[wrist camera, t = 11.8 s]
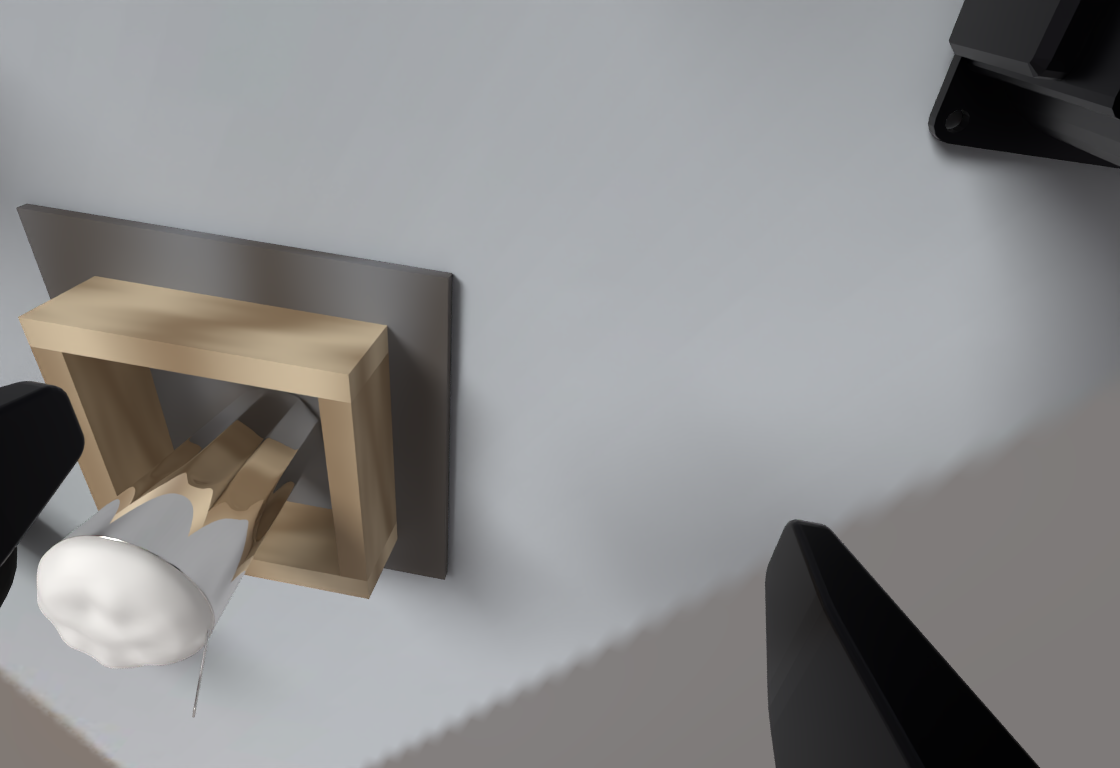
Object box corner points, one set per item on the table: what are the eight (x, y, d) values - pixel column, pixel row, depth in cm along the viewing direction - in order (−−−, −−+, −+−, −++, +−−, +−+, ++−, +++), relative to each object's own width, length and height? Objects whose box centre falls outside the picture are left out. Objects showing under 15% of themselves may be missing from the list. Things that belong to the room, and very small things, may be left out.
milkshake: (346, 493, 25) (188, 754, 17) (215, 440, 24) (-18, 682, 16) (373, 411, 23) (201, 669, 14) (227, 349, 22) (-40, 581, 14)
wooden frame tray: (451, 273, 20) (415, 324, 17) (447, 572, 27) (421, 641, 25) (26, 203, 20) (-77, 241, 18) (139, 513, 28) (81, 574, 25)
